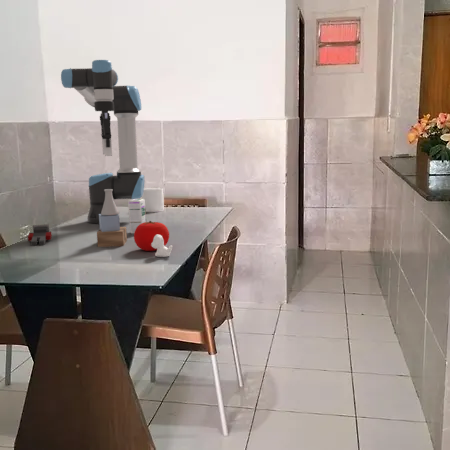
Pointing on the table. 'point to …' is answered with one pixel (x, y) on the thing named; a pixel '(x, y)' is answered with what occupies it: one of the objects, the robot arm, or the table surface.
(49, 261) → the table surface
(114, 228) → the blue brick
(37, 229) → the toy
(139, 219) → the syrup box
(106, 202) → the flask
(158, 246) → the figurine
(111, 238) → the base block
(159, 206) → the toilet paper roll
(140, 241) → the tomato
